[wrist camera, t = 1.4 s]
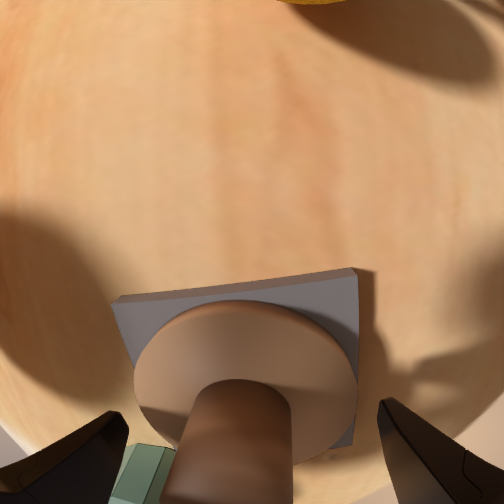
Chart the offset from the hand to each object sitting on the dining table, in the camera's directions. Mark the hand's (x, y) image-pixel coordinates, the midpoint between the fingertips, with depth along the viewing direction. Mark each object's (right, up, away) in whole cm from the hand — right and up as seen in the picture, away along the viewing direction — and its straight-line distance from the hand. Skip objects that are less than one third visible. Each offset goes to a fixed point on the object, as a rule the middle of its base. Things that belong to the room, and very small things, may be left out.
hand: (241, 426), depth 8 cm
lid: (0, 0, +2) cm, 2 cm away
